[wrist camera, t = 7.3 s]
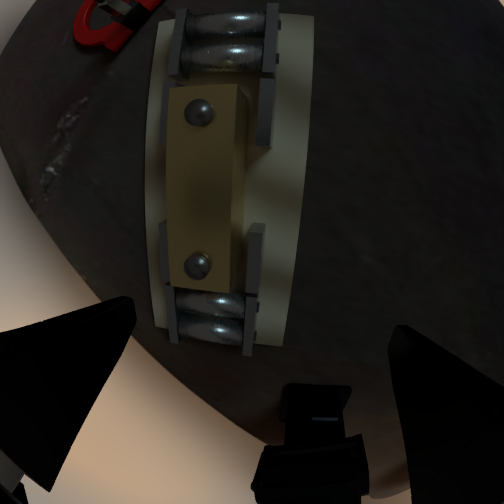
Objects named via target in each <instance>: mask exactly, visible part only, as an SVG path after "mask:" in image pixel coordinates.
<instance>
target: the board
mask: <svg viewBox="0 0 504 504" xmlns="http://www.w3.org/2000/svg"><path fill="white" fill-rule="evenodd" d="M280 20H281V31H279V44H278V53H279V54H280V57H279V65H277V75H276V81H275V83H276V102H275V116H274V130H273V143H272V147H259V146H255V143H256V129H257V115H258V101H259V87H260V78H264V76H263V73H260V72H213V73H194V74H189V81H184V82H179V83H181V84H183V85H185V86H199V85H219V84H237V85H238V86H239V87H240V89H241V90H242V91H243V92H244V94H245V95H246V96H247V98H248V99H249V100H250V104H249V123H248V142H247V162H246V183H245V205H244V228H243V252H242V264H241V266H240V269H239V271H238V274H237V276H236V278H235V281H234V283H233V286H232V288H231V290H239V291H245V290H246V274H247V259H248V244H249V232H250V230H251V227H252V225H253V223H254V222H256V223H266V230H265V242H264V253H263V265H262V276H261V282H260V290H259V302H260V307H259V313H257V322H256V331H257V337H256V341H255V342H254V343H256V344H264V345H273V346H282V343H283V337H284V331H285V325H286V319H287V312H288V306H289V299H290V293H291V286H292V279H293V272H294V264H295V257H296V249H297V242H298V233H299V225H300V217H301V208H302V199H303V189H304V179H305V169H306V158H307V146H308V134H309V121H310V106H311V89H312V69H313V41H314V16H306V15H295V14H280ZM174 23H175V19H173V20H167V21H162V22H159V26H158V32H157V37H156V43H155V50H154V56H153V63H152V71H151V80H150V89H149V99H148V111H147V126H146V148H145V216H146V238H147V253H148V266H149V277H150V287H151V296H152V305H153V312H154V320H155V326H156V327H161V328H166V329H169V328H168V319H167V309H166V299H165V287H164V285H165V284H166V283H167V281H162V280H161V267H160V251H159V228H158V223H160V222H162V221H163V220H165V219H167V212H166V144H159V131H160V115H161V102H162V91H163V82H165V81H174V80H175V79H173V78H171V77H169V76H167V71H168V63H169V55H170V48H171V41H172V35H173V29H174ZM264 40H265V38H223V39H207V40H195V41H193V46H196V45H208V44H227V43H264ZM185 312H187V313H193V314H199V315H206V316H212V317H219V318H225V319H232V320H240V321H245V319H238V318H231V317H224V316H217V315H210V314H204V313H198V312H192V311H186V310H185Z"/></svg>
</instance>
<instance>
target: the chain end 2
mask: <svg viewBox="0 0 504 504" xmlns="http://www.w3.org/2000/svg"><path fill="white" fill-rule="evenodd" d="M158 228H159V251H160V267H161V280H162V281H167V283H166V284H165V285H164V287H165V299H166V309H167V319H168V328H169V336H170V342H171V343H175V344H179V342H180V340H181V339H182V337H185V338H191V339H196V340H202V341H207V342H213V343H219V344H226V345H232V346H239V347H243V354H242V355H244V356H252V352H253V347H254V342H255V341H256V337H257V331H256V322H257V313H259V307H260V302H259V290H260V282H261V276H262V265H263V253H264V242H265V230H266V223H256V222H254V223H253V225H252V227H251V230H250V232H249V244H248V259H247V274H246V290H245V291H239V290H230V293H222V292H213V291H205V290H197V289H190V288H182V287H175V286H171V283H170V271H169V256H168V238H167V219H165V220H163V221H162V222H160V223H158ZM185 310H186V311H192V312H198V313H204V314H210V315H217V316H224V317H231V318H238V319H245V321H240V320H232V319H225V318H219V317H212V316H206V315H199V314H193V313H187V312H185Z"/></svg>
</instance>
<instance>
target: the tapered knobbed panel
mask: <svg viewBox="0 0 504 504" xmlns="http://www.w3.org/2000/svg"><path fill="white" fill-rule="evenodd" d="M249 104H250V100H249V99H248V98H247V96H246V95H245V94H244V92H243V91H242V90H241V89H240V87H239V86H238V85H237V84H219V85H199V86H186V87H175V88H169V102H168V119H167V144H166V212H167V238H168V256H169V271H170V283H171V286H175V287H182V288H190V289H197V290H205V291H213V292H222V293H230V290H231V288H232V286H233V283H234V281H235V278H236V276H237V274H238V271H239V269H240V266H241V264H242V252H243V228H244V205H245V183H246V162H247V142H248V123H249Z"/></svg>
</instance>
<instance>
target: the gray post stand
mask: <svg viewBox="0 0 504 504" xmlns="http://www.w3.org/2000/svg"><path fill="white" fill-rule="evenodd" d="M161 1H162V0H85V2H84V3H83V4H82V6H81V8H80V10H79V11H78V13H77V16H76V18H75V21H74V27H73V33H74V38H75V39H76V41H77V42H79V43H81V44H83V45H85V46H93V47H95V46H99V45H102V44H105V45H104V46H105V47H107V48H108V49H110V50H112V51H114V52H118V51H119V49H120V48H121V47H122V46H123V44H124V43H125V42H126V40H127V39H128V38H129V37H130V36H131V34H132V33H133V32H134V31H136V30H137V29H138V28H139V27H140V25H141V24H142V23H143V22H144V21H145V20H146V19H147V18H148V17H149V15H150V14H151V12H152V11H153V10H154V9H155V8H156V6H157V5H158V4H159V3H160V2H161ZM96 4H97V6H98V7H99V8H101V9H102V10H104V11H106V12H108V13H109V14H112V16H111V19H113V20H115V21H116V22H118V23H120V24H121V25H120V24H118V23H116V22H113V23H111V24H110V25H108V26H106V27H104V28H102V29H99V30H91V29H90V28H89V24H88V22H89V17H90V14H91V12H92V10H93V8H94V7H95V5H96Z"/></svg>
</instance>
